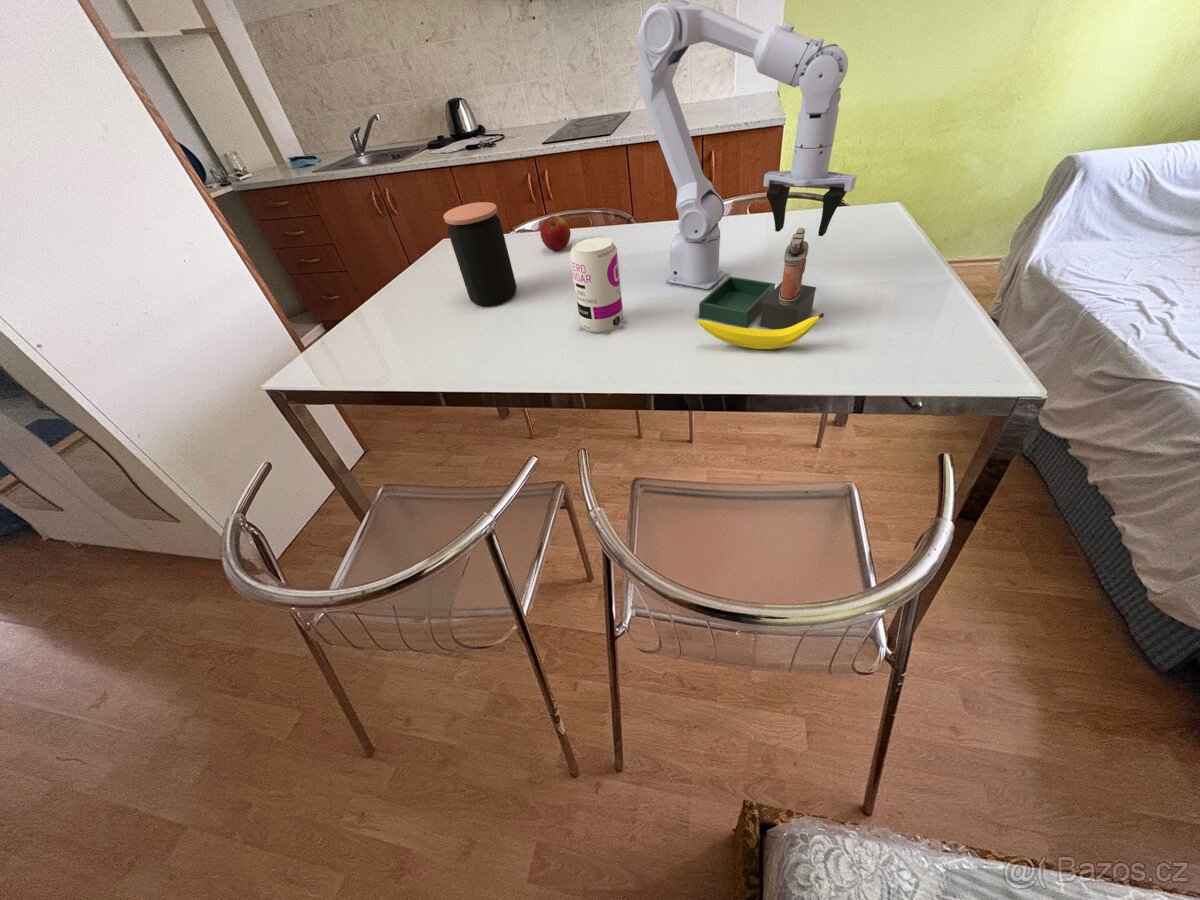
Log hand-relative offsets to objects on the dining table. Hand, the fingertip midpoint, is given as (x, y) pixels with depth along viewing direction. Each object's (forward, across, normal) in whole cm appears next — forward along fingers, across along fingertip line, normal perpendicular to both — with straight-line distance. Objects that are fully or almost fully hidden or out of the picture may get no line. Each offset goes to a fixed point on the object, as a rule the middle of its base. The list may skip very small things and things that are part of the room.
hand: (800, 231), depth 86 cm
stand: (+10, +4, -12) cm, 16 cm away
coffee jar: (+11, -56, -27) cm, 63 cm away
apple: (+11, -60, 0) cm, 61 cm away
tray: (+10, -6, -12) cm, 17 cm away
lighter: (+6, +4, -12) cm, 14 cm away
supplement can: (+11, -26, -27) cm, 39 cm away
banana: (+11, +3, -23) cm, 26 cm away
